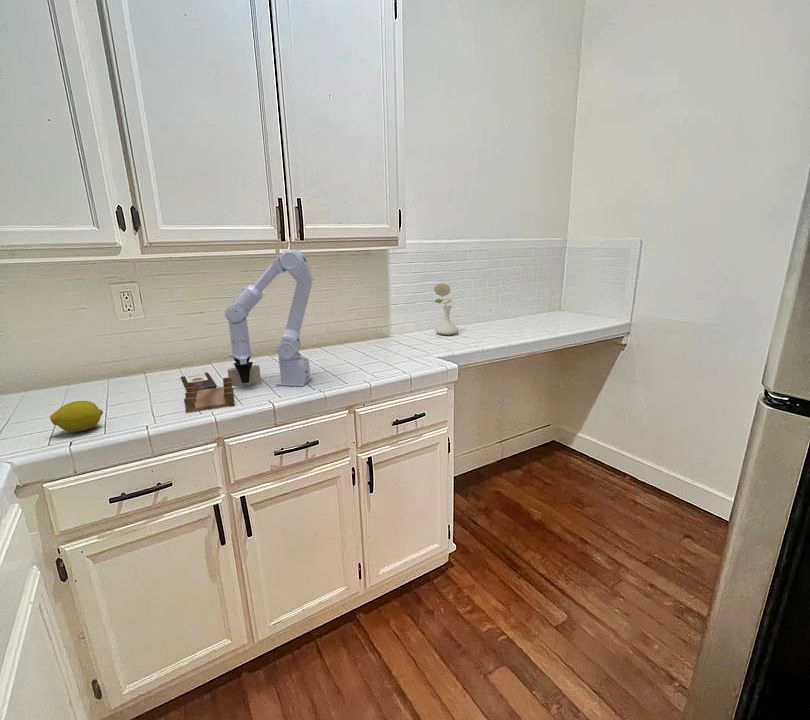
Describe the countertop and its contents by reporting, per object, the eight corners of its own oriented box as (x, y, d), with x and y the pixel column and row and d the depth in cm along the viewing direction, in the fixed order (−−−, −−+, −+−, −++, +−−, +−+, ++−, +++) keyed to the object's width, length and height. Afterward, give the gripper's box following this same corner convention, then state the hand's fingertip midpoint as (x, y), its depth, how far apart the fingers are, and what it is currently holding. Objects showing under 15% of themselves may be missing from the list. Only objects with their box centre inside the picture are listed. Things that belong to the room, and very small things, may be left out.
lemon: (108, 421, 120) (101, 393, 118) (103, 432, 113) (97, 403, 111) (59, 429, 115) (52, 400, 113) (51, 441, 109) (44, 411, 106)
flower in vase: (462, 332, 218) (463, 282, 211) (452, 337, 208) (453, 284, 201) (438, 330, 224) (439, 281, 217) (428, 334, 215) (428, 283, 208)
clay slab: (260, 381, 151) (258, 364, 149) (261, 383, 148) (259, 366, 147) (229, 385, 147) (227, 368, 145) (229, 387, 145) (227, 370, 143)
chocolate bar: (187, 391, 140) (180, 376, 154) (187, 394, 140) (181, 379, 155) (217, 386, 145) (207, 372, 159) (217, 388, 145) (208, 374, 159)
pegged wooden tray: (232, 388, 144) (231, 377, 142) (234, 405, 129) (232, 392, 128) (189, 394, 139) (187, 382, 138) (186, 412, 125) (183, 399, 123)
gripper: (226, 336, 148) (231, 374, 152) (227, 346, 135) (233, 387, 139) (248, 334, 151) (252, 371, 155) (251, 344, 138) (256, 384, 142)
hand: (244, 379), depth 147 cm, fingers open, 7 cm apart
